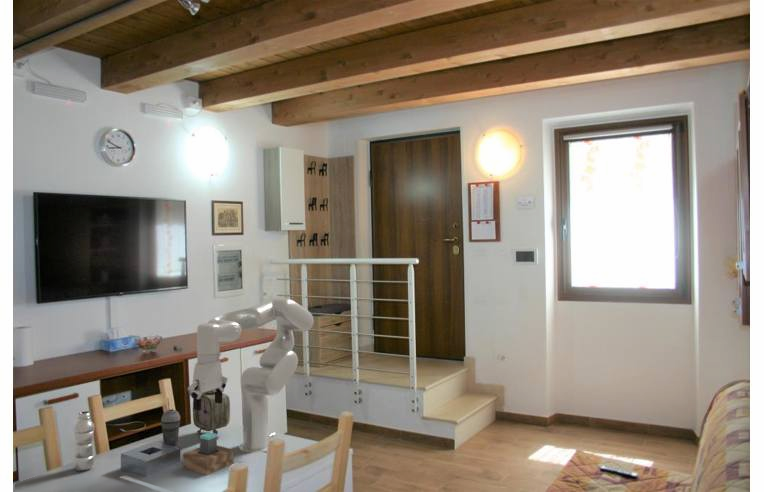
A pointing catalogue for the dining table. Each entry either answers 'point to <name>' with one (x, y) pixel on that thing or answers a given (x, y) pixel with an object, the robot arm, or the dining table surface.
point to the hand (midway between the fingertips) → (208, 406)
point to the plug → (208, 443)
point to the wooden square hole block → (207, 460)
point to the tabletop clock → (211, 412)
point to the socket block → (150, 458)
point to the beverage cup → (170, 426)
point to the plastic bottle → (84, 442)
